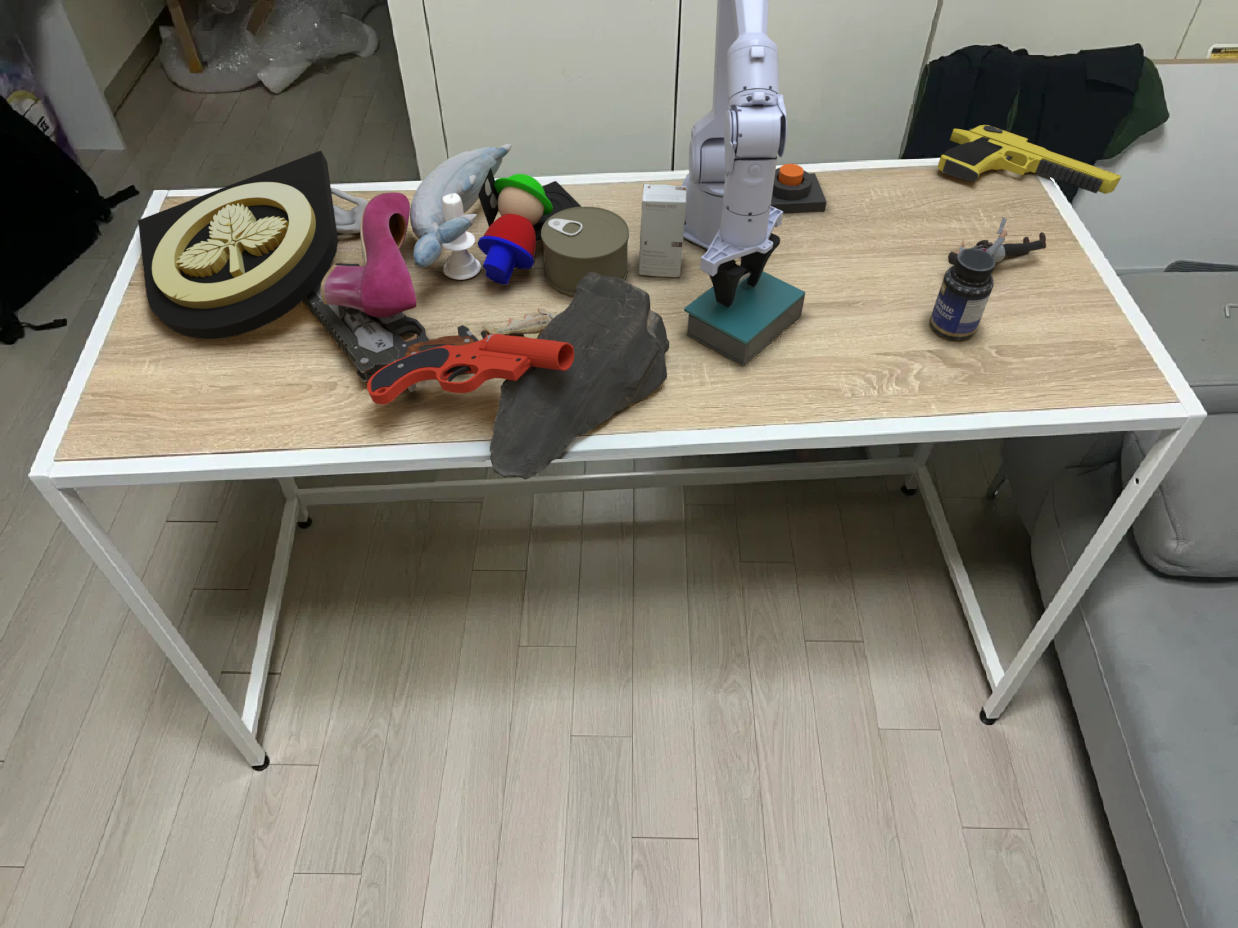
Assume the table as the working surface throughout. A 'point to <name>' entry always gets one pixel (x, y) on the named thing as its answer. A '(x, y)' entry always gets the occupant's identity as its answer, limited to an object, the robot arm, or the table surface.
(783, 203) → the block
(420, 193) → the sculpture
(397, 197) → the high heel
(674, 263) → the cosmetic box
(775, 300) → the teal flat panel
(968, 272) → the pill bottle
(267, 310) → the decorative plaque
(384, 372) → the flare gun
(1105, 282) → the table surface
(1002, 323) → the table surface
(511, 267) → the toy figure
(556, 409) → the stone
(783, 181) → the button
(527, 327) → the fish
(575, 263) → the can
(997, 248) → the action figure
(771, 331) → the dark gray box base
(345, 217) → the figurine
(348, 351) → the fictional weapon
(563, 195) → the light switch
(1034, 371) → the table surface
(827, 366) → the table surface
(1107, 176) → the handgun
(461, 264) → the candle
